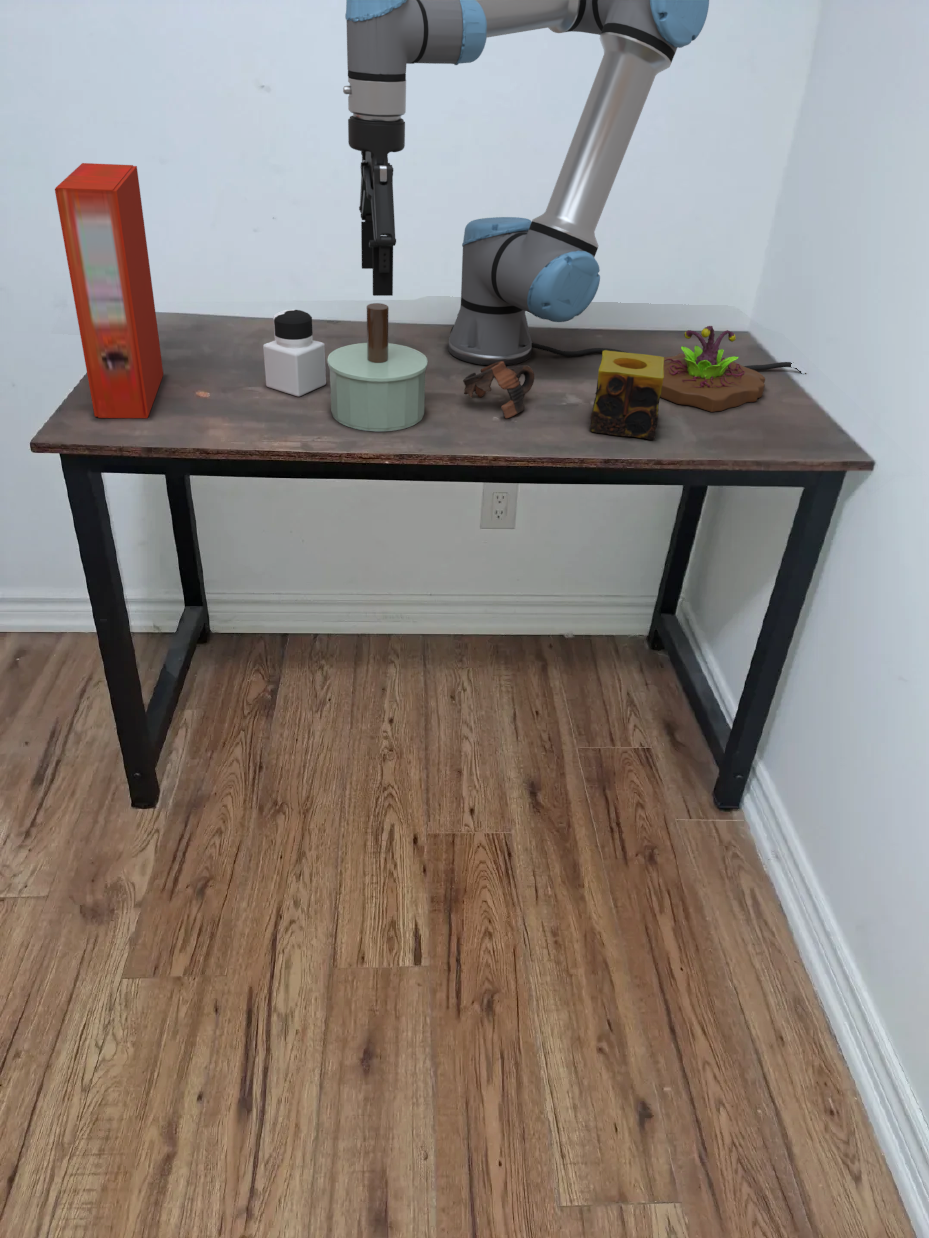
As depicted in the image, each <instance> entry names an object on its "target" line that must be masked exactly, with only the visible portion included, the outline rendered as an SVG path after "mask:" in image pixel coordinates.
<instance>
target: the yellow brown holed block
mask: <svg viewBox="0 0 929 1238" xmlns="http://www.w3.org/2000/svg"><path fill="white" fill-rule="evenodd" d="M626 352H627V351H624V352H615V351H607V350H604V351H603V352H602V353H601V359H600V364H599V366H598V372H597V383H596V390H595V398H594V401H593V405H592V412H591V416H590V426H589V430H590V432H592V433H596V434H603V435H611V436H616V437H617V436H618V437H628V438H629V437H630V438H631V437H633V438H638V439H643V440H648V441H654V440H655V439H656V438H655V437H656V432H657V425H658V420H659V408H660V407H659V406H660V399H661V390H662V385H663V378H664V370H663V367H664V357H665V356H660V355H652V354H645V353H644V354H643V353H634V352H628V353H626Z"/></svg>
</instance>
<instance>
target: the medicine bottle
mask: <svg viewBox="0 0 929 1238" xmlns="http://www.w3.org/2000/svg"><path fill="white" fill-rule="evenodd" d="M272 320H273V336H274V340H271V341H269V342H267V343H264V344H263V345H262V347H263V359H264V360H263V362H264V363H263V364H264V377H265V386H266V387H267V388H269V389H273V390H275V391H279V392H282V393H285V394H288V395H291V396H295V397H297V398H299V397H301V396H304V395H306V394H308V393H311V392H313V391H315V390H317V389H319V388H321V387H324V386H325V385H326V384H327V374H326V373H327V372H326V371H327V369H326V345H325V343H324V342H321V341H319V340H314V339H313V338H314V337H313V335H314V334H313V332H314V331H313V317H312V315H311V313H309V312H306V311H304V310H300V309H284V310H281V311H278V312H276V313H275V314H274V315H273V318H272Z"/></svg>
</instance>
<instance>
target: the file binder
mask: <svg viewBox="0 0 929 1238" xmlns="http://www.w3.org/2000/svg"><path fill="white" fill-rule="evenodd" d="M139 179H140V178H139V171H138V166H137V165H133V164H116V163H93V162H92V163H91V162H81V164H79V165H78V166H77V167H76V168H75V169H73V171H72V172H70V174H68V176H66V177H65V178H64V179H63V180H62V181H61V182H60V183H59V184H57V186H56V187H55V188H54V193H55V194H54V195H55V199H56V205H57V211H58V216H59V222H60V227H61V234H62V239H63V244H64V250H65V251H64V252H65V256H66V262H67V266H68V267H67V268H68V273H69V279H70V285H71V290H72V295H73V301H74V307H75V311H76V312H75V313H76V319H77V324H78V330H79V336H80V341H81V346H82V352H83V353H82V354H83V357H84V363H85V370H86V373H87V380H88V381H87V382H88V387H89V392H90V398H91V404H92V409H93V414H94V417H96V418H98V419H149V416H150V414H151V410H152V407H153V405H154V403H155V399H156V396H157V394H158V390H159V387H160V385H161V383H162V380H163V377H164V368H163V359H162V351H161V346H160V345H161V344H160V336H159V329H158V321H157V314H156V307H155V305H156V304H155V297H154V291H153V282H152V275H151V267H150V259H149V251H148V243H147V235H146V227H145V219H144V212H143V211H144V210H143V204H142V203H143V202H142V197H141V196H142V195H141V188H140V187H141V186H140V180H139Z"/></svg>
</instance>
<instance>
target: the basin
mask: <svg viewBox="0 0 929 1238" xmlns="http://www.w3.org/2000/svg"><path fill="white" fill-rule="evenodd" d="M329 381H330V382H329V383H330V385H329V386H330V387H329V388H330V411H331V415H332V417H333V419H334V420H335V421H336V422H338V423H339V424H341V425H343V426H345V427H348V428H350V429H354V430H360V431H364V432H365V431H366V432H376V433H377V432H378V433H379V432H382V433H383V432H384V433H385V432H394V431H400V430H404V429H408V428H410V427H413V426H416V425H417V424H419V423H420V422H421V421H422V420H423V418H424V417H425V416H424V415H425V400H426V399H425V398H426V397H425V395H426V394H425V393H426V370H425V371H424V372H423V373H421V374H419V375H417V376H415V377H412V378H408V379H404V380H398V381H387V382H374V381H363V380H357V379H352V378H348V377H345V376H342V375H340V374H337V373H336V372H334V371H333V370H331V369H330V368H329Z"/></svg>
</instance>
